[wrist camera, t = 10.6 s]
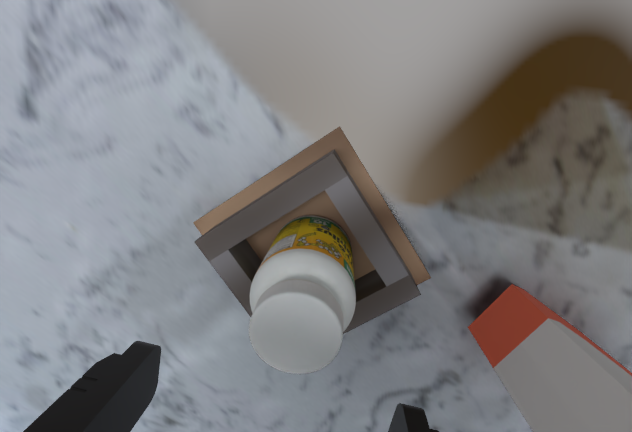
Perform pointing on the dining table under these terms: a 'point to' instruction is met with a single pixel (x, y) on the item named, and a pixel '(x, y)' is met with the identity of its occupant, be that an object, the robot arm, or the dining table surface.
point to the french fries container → (553, 368)
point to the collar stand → (325, 201)
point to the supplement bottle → (303, 296)
